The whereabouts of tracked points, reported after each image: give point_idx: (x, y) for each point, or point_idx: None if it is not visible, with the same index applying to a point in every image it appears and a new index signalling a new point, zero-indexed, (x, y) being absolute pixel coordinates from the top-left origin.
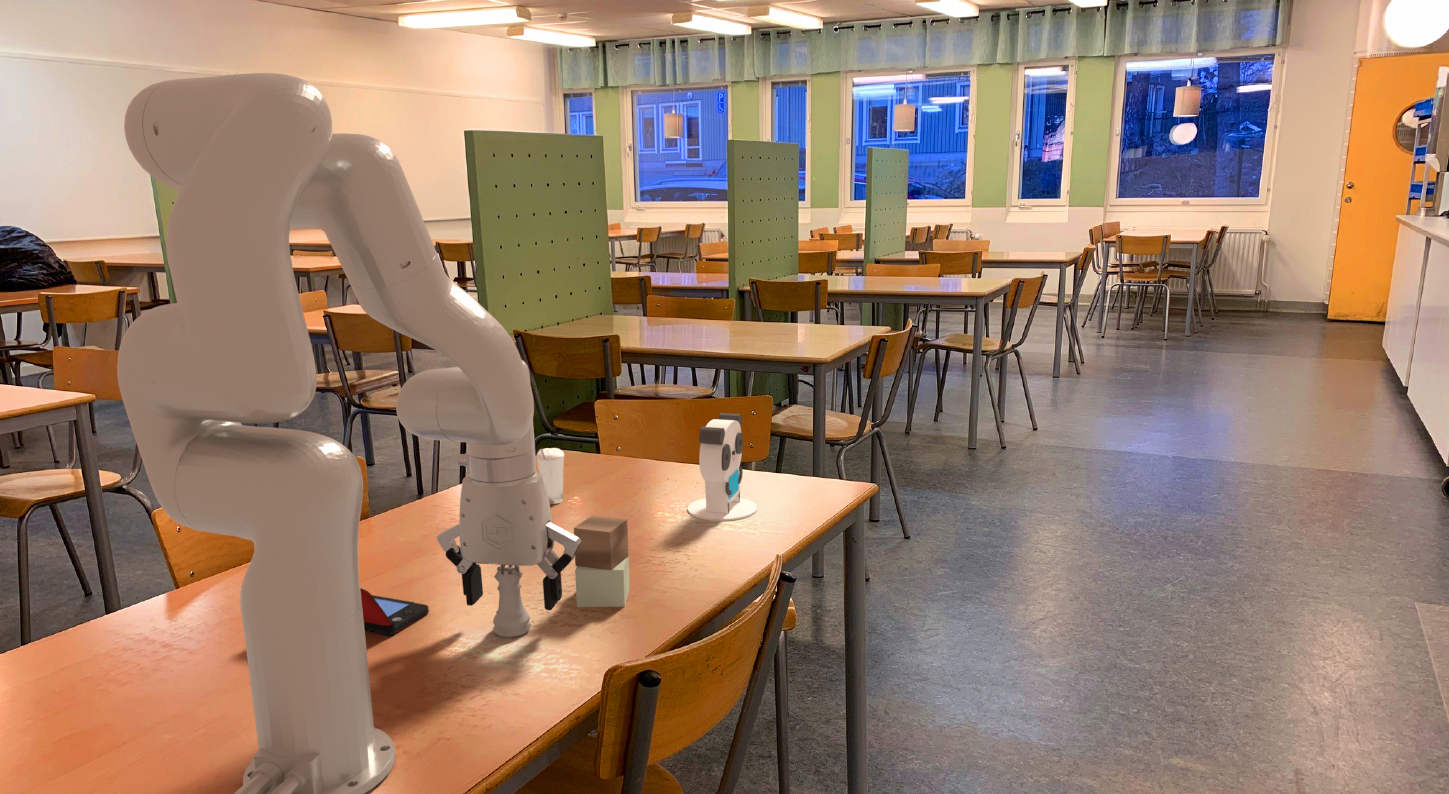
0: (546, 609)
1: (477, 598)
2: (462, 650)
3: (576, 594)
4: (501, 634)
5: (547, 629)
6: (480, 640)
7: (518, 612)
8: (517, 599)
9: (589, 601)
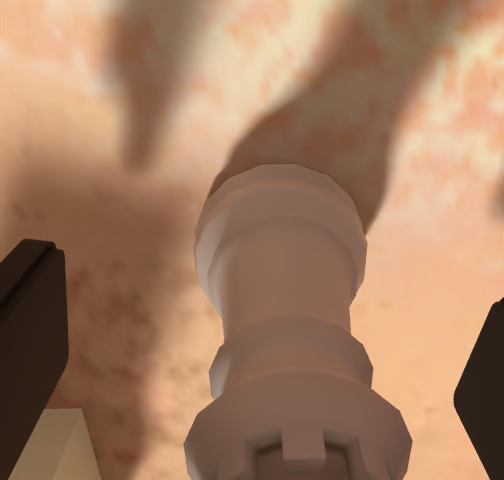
0: (49, 241)
1: (479, 355)
2: (482, 35)
3: (63, 452)
4: (310, 170)
5: (129, 247)
6: (404, 145)
7: (230, 254)
8: (232, 307)
9: None
